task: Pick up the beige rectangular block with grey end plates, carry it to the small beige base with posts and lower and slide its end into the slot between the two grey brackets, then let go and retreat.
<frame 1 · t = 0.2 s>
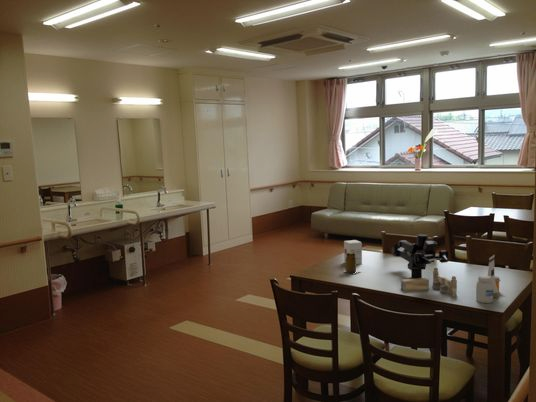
hand: (438, 261, 241), 17 cm above the table, tool horizontal, fingers open, 9 cm apart
toiletry set: (489, 297, 235), on the table
beige rectangular block: (414, 288, 251), on the table
supplement box: (352, 263, 310), on the table
condiment: (352, 272, 288), on the table
beige base with posts: (443, 290, 247), on the table
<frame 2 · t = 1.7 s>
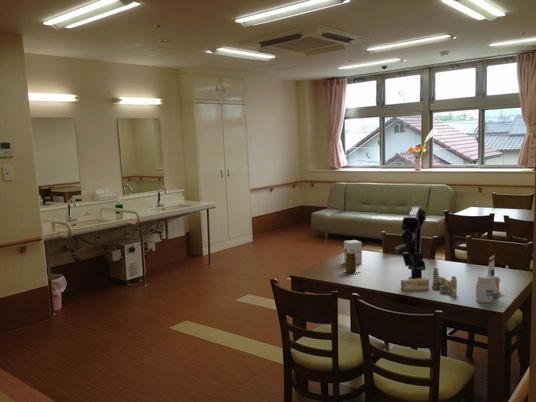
hand: (410, 268, 249), 11 cm above the table, tool pointing down, fingers open, 9 cm apart
nothing on the table moved.
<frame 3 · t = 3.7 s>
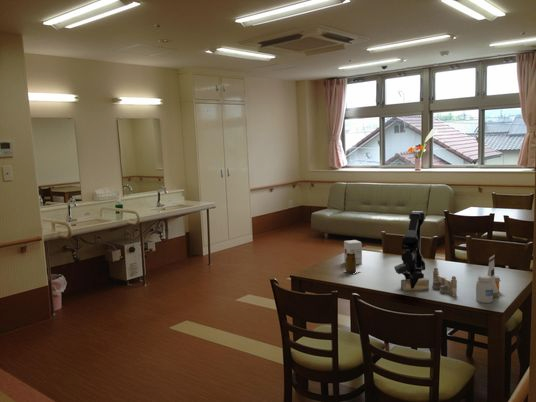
hand: (410, 287, 251), 1 cm above the table, tool pointing down, fingers closed on beige rectangular block, 4 cm apart
beige rectangular block: (414, 288, 251), on the table, touching gripper
everything else where it was.
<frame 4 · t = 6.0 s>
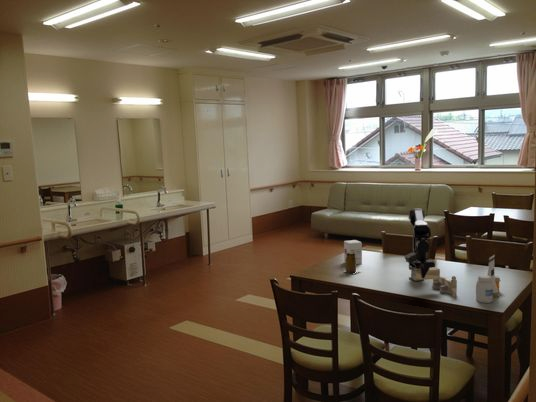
hand: (421, 276, 244), 8 cm above the table, tool pointing down, fingers closed on beige rectangular block, 4 cm apart
beige rectangular block: (425, 278, 245), point 7 cm above the table, touching gripper
everything else where it was.
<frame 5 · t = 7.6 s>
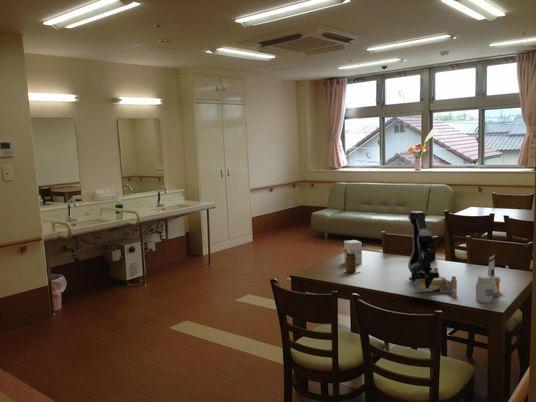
hand: (425, 287, 245), 2 cm above the table, tool pointing down, fingers closed on beige rectangular block, 4 cm apart
beige rectangular block: (429, 288, 246), point 1 cm above the table, touching gripper
everything else where it was.
when the fingers open (2 cm above the table, at t = 8.6 s): beige rectangular block drops 1 cm, on the table.
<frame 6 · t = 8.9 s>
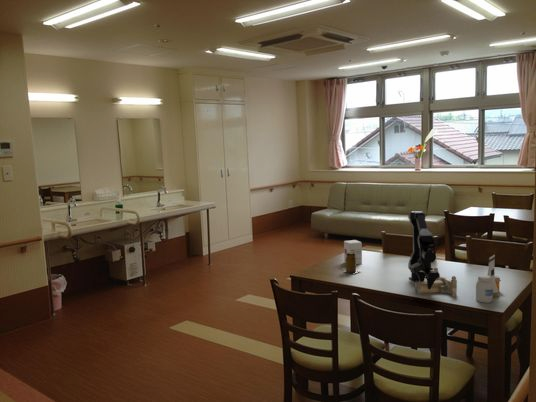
hand: (425, 287, 245), 2 cm above the table, tool pointing down, fingers open, 8 cm apart
beige rectangular block: (429, 291, 246), on the table
everything else where it was.
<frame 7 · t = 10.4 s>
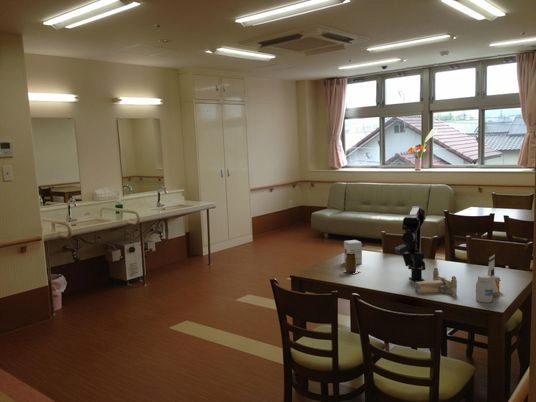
hand: (411, 268, 249), 12 cm above the table, tool pointing down, fingers open, 9 cm apart
nothing on the table moved.
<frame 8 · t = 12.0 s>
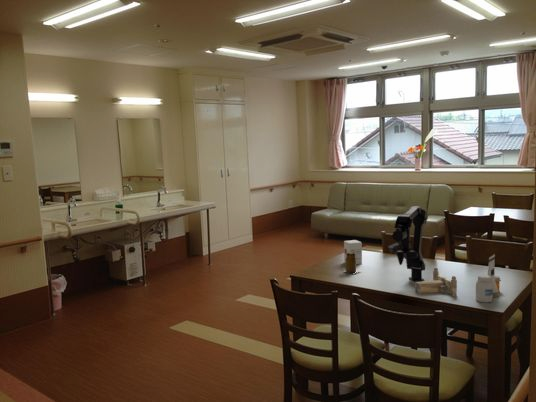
hand: (404, 266, 251), 12 cm above the table, tool pointing down, fingers open, 9 cm apart
nothing on the table moved.
at the end: beige rectangular block 0.2 cm from the target spot, on the table; beige rectangular block tilted 0°; the gripper is holding nothing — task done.
